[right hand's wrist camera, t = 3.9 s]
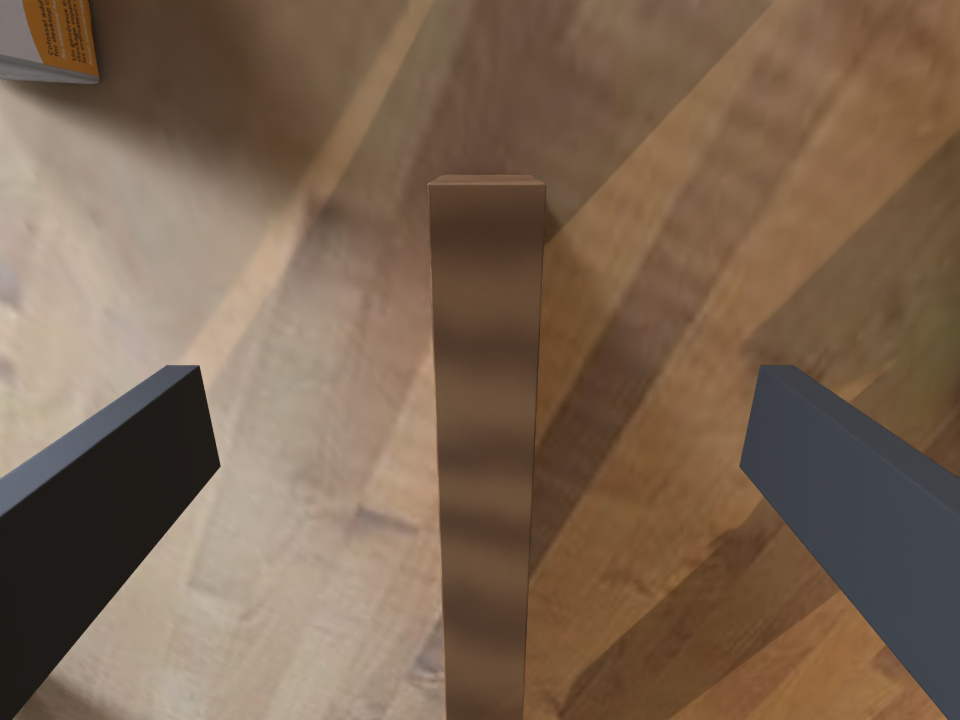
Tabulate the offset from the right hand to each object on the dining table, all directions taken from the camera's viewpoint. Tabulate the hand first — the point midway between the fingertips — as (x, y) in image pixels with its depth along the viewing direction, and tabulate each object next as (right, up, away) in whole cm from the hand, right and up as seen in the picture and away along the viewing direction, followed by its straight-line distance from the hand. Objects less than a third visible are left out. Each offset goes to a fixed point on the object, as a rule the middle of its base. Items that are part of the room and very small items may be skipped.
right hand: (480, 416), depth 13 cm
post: (0, -22, +31) cm, 38 cm away
